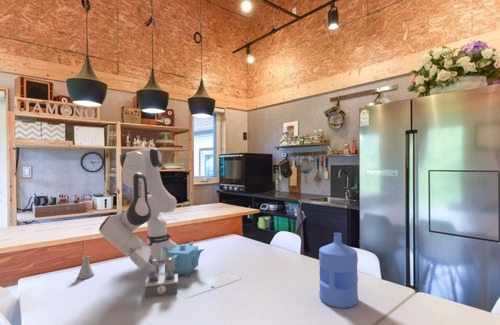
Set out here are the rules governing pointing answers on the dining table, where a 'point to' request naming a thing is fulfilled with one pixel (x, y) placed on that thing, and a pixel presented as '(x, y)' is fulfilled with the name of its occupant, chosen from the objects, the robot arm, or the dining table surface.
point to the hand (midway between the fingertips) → (155, 265)
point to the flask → (85, 269)
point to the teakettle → (184, 258)
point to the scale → (161, 286)
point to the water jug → (338, 274)
